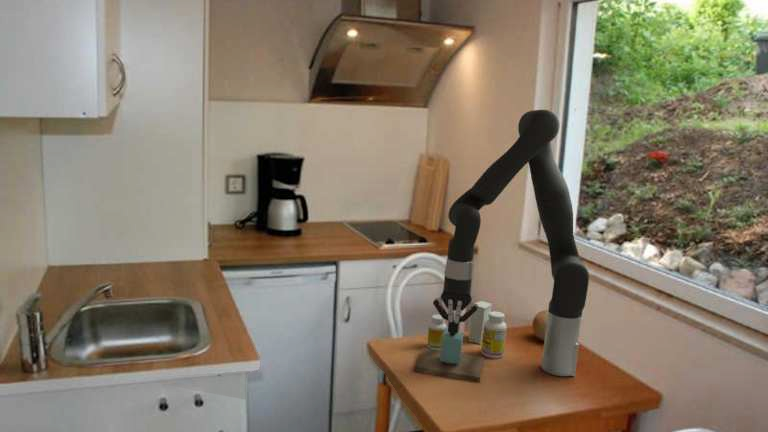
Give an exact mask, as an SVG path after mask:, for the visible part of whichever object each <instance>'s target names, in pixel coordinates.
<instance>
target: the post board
mask: <svg viewBox="0 0 768 432" xmlns="http://www.w3.org/2000/svg"><path fill="white" fill-rule="evenodd" d="M440 354H441V350H433V349H430V348H425V347H422V349H421V351H420V354H419V356H418V358H417V361H416V363H415V365H414V370H413V372H415V373H418V374H419V373H420V374H425V375H431V376H439V377H443V378H449V379H457V380H461V381H462V380H463V381H468V382H474V383H480V382H481V376H482V373H483V366H484V363H485V356H484V357H483V356H476V355H471V354H463V353H462V354H461V359H460V363H459V364H456V363H455V365H453V364H447V363H445V362H443V361H440Z"/></svg>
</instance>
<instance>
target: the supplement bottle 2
mask: <svg viewBox="0 0 768 432" xmlns="http://www.w3.org/2000/svg"><path fill="white" fill-rule="evenodd" d="M488 317H489V320H487V321H486V322H485V323H484V331H483V340H482V343H481V352H480V353H481V354H482V355H483V356H484V357H487V358H491V359H499V358H502V357H503V356H504V352H505V345H506V337H507V336H506V335H507V327H508V326H507V324H506V323H505V321H504V320H505V314H504V313H503V312H500V311H491V312H489V315H488Z"/></svg>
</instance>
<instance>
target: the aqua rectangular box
mask: <svg viewBox="0 0 768 432" xmlns="http://www.w3.org/2000/svg"><path fill="white" fill-rule="evenodd" d="M463 341H464V332H459V331H458V333H457V334H455V335H450V333H449V332H448V330H447V329H446V330H445V331H444V333H443V336H442V343H441V350H440V351H441V354H440V361H443V362H450V363H456V364H459V363H460V359H461V354H463V343H464V342H463Z"/></svg>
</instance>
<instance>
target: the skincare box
mask: <svg viewBox="0 0 768 432" xmlns="http://www.w3.org/2000/svg"><path fill="white" fill-rule="evenodd" d="M475 304H477V305H478V308H477V310H476V311H475V312H474V313H473V314H472V315H471V316H470V326H469V334H468V341H469V342H470V343H475V344H479V345H482V340H483V331H484V323H485V322H486V321H487V320H489V317H488V315H489V312H492V305H493V304H492V303H491V302H490V303H489V302H486V301H484V300H483V301H482V300H480V301H478V302H475Z"/></svg>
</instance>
